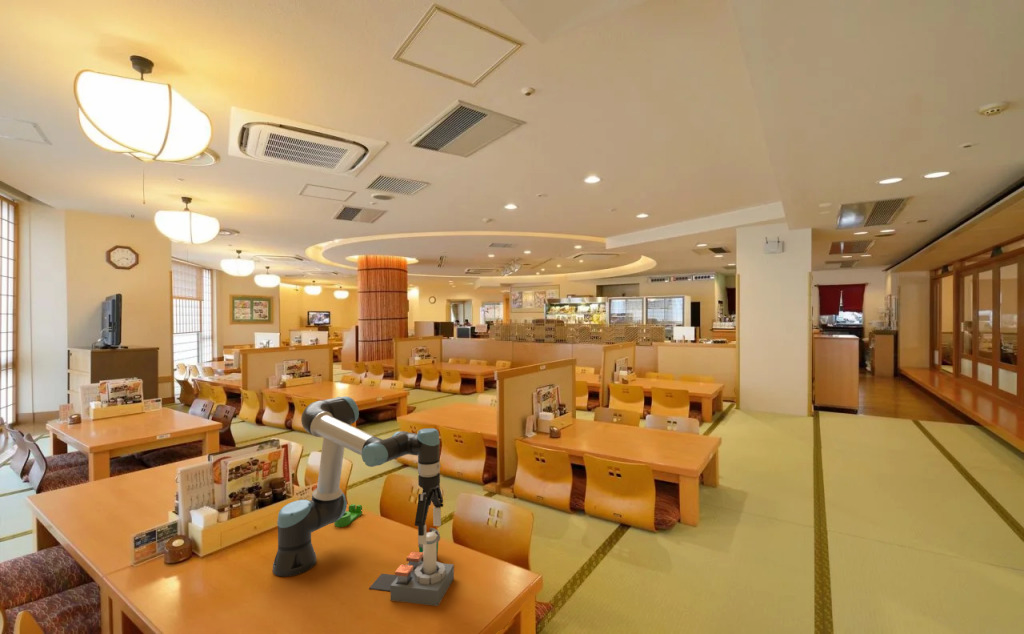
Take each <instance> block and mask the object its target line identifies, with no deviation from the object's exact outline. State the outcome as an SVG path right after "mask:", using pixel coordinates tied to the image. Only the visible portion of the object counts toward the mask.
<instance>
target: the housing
mask: <svg viewBox="0 0 1024 634" xmlns="http://www.w3.org/2000/svg"><path fill="white" fill-rule="evenodd" d="M406 565H409V562H408V563H406ZM454 565H455V564H453V563H452V564H451V563H442V562H440V561H437V573H434V574H432V575H425V574H423V561H421V564H420V566H419V565H418V566H417V568H416V569H415V570H412V572H411V581H410V582H409V584H408V585H403V584H398V577H397V578H396V579H395V580H394V582H393V583H392V584H391V585H390V586H391V591H390V601H393V602H395V601H396V602H402V603H410V604H417V605H418V604H419V605H426V606H434V607H435V606H436V607H439V606H440V603H441V601H442V600H443V598H444V596H445V595H446V593H447V591H448V589H449V587H450V586H451V585H452V582H453V581H454V578H455V566H454Z"/></svg>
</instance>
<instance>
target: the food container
mask: <svg viewBox="0 0 1024 634" xmlns="http://www.w3.org/2000/svg"><path fill="white" fill-rule="evenodd" d="M428 532H434V533H436V557H437V558H438V557H439V556H438V554H439V541H441V535H440V532H439V530H437V529H436V528H433V527H429V531H428ZM417 546H418V552H423V544H418V543H417ZM421 561H423V557H422V558H421Z"/></svg>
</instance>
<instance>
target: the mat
mask: <svg viewBox="0 0 1024 634" xmlns="http://www.w3.org/2000/svg"><path fill="white" fill-rule="evenodd" d="M397 577H398V576H397V575H395V574H389V573H388V574H387V573H381V574H380V575H379V576H378V577H376V579H375V581H374V582H373V583H372V584H371V585H370V586H369V588H368V589H369V590H376V591H383V592H391V586H390V585H391V584H392V583H393V582H394V580H395V579H396V578H397Z"/></svg>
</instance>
